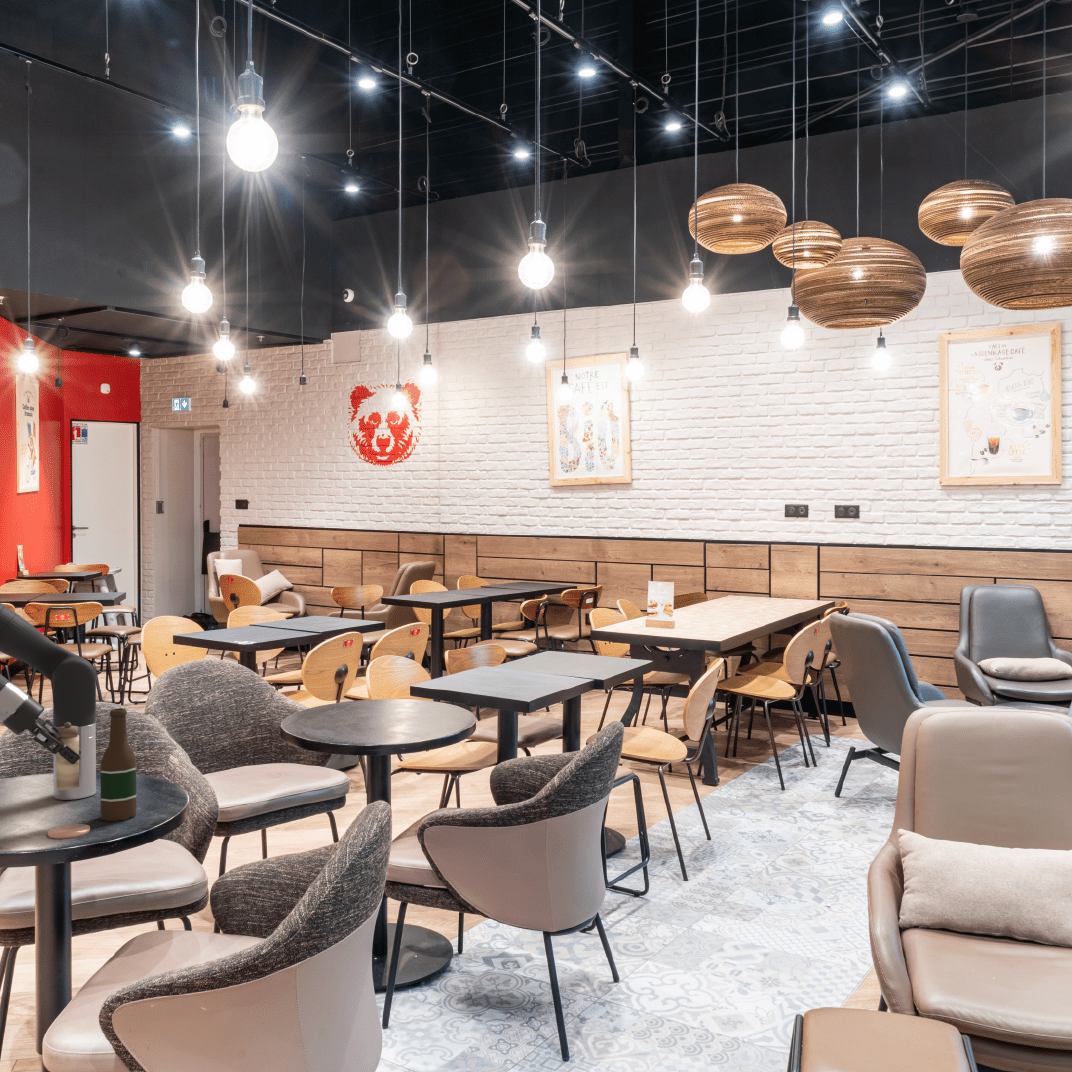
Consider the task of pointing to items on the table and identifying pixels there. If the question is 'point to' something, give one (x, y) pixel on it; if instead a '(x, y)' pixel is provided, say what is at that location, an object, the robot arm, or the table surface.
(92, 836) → the table surface
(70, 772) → the pepper mill
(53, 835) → the saucer
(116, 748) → the beer bottle
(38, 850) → the table surface
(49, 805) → the table surface
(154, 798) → the table surface
